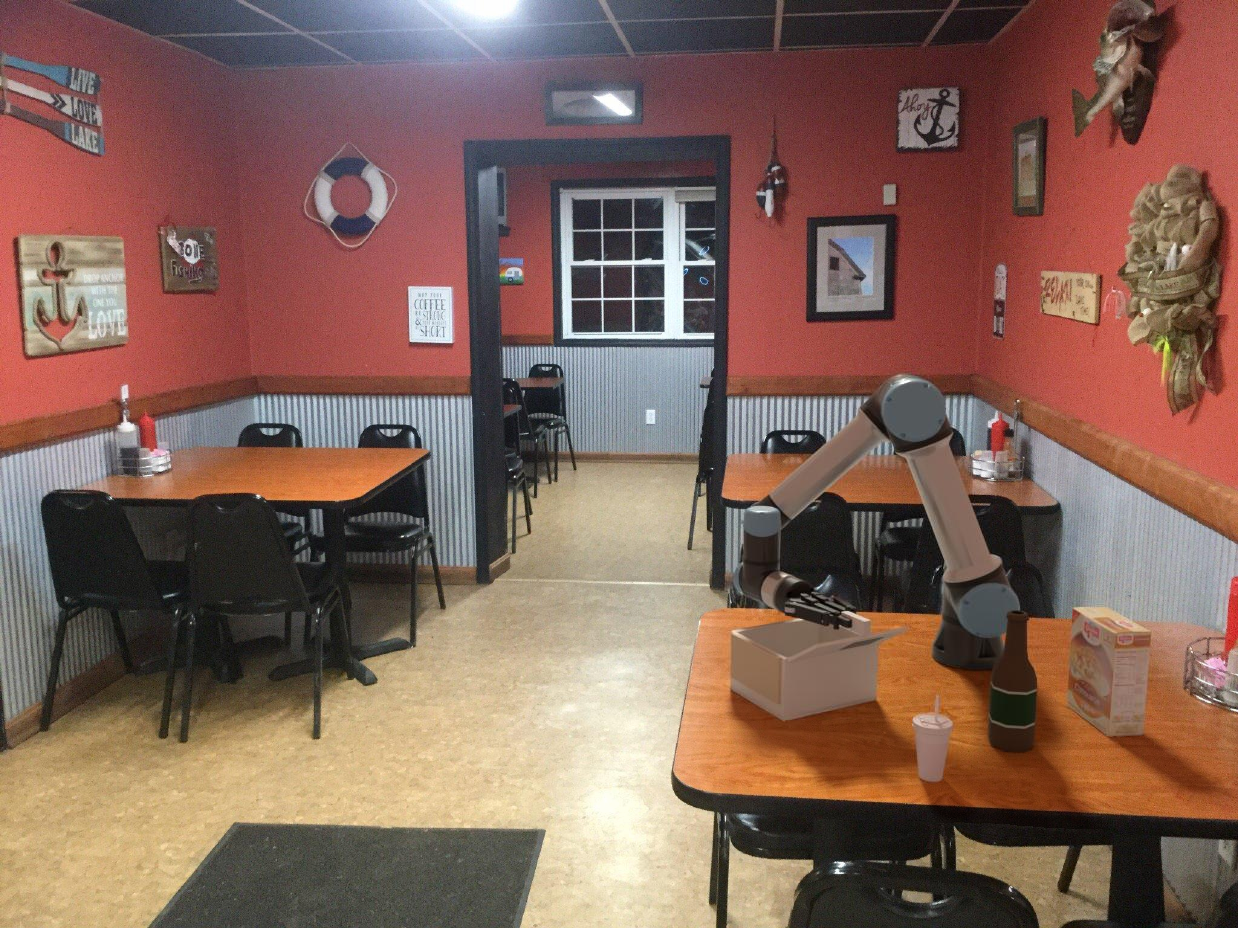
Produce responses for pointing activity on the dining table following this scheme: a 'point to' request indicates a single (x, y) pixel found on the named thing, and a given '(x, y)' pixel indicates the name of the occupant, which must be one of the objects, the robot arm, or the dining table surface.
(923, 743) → the smoothie
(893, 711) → the dining table surface
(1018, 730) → the beer bottle
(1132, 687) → the coffeecake box
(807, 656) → the far flap
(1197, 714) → the dining table surface
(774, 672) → the carton
